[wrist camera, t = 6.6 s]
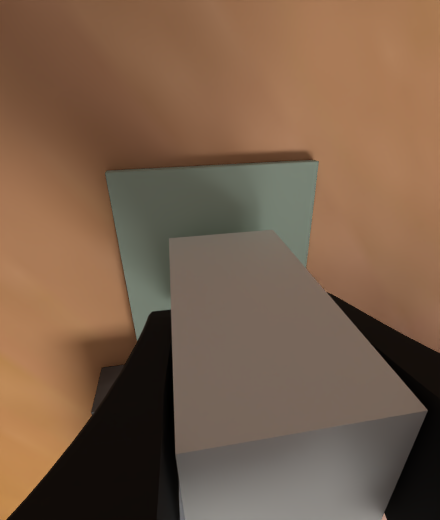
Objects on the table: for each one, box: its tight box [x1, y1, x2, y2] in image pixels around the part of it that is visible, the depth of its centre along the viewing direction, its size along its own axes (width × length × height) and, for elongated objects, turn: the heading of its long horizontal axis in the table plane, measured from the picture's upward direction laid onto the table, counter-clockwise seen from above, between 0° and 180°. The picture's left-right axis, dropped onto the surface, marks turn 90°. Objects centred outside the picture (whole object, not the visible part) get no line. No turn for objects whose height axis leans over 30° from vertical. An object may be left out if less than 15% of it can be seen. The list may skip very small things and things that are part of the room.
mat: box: [105, 160, 319, 341], centre depth 13 cm, size 8×8×1 cm
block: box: [169, 230, 428, 520], centre depth 9 cm, size 4×4×8 cm
